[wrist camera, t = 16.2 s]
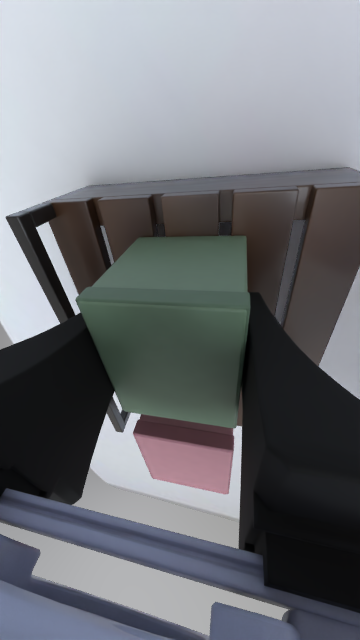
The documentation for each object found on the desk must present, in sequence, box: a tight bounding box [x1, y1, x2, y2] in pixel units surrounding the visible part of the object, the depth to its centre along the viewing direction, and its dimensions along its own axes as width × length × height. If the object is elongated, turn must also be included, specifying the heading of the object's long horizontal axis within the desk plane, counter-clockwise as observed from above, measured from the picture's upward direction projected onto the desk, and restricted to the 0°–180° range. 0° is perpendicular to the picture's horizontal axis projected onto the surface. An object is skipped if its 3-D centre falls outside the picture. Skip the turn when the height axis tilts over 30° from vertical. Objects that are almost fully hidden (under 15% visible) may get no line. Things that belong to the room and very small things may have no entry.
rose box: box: [133, 414, 234, 494], centre depth 14 cm, size 5×6×5 cm
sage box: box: [76, 236, 250, 428], centre depth 9 cm, size 5×6×5 cm
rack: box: [6, 168, 360, 432], centre depth 14 cm, size 13×16×6 cm
